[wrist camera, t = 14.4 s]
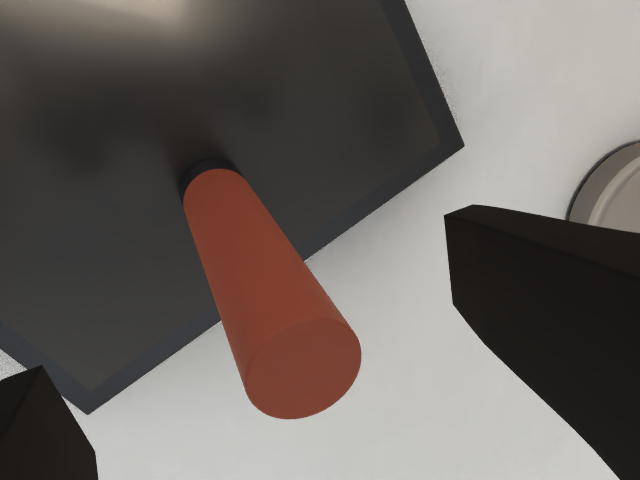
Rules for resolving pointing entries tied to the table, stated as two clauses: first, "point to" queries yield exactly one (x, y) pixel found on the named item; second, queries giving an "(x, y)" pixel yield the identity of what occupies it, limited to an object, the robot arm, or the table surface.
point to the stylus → (267, 298)
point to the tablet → (186, 157)
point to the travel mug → (612, 193)
